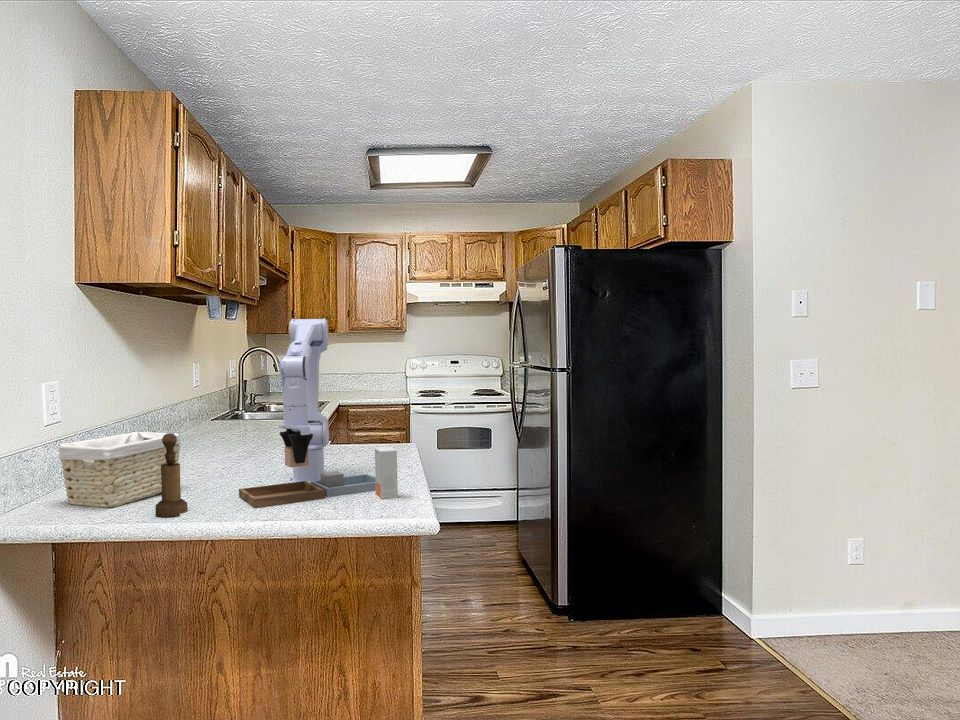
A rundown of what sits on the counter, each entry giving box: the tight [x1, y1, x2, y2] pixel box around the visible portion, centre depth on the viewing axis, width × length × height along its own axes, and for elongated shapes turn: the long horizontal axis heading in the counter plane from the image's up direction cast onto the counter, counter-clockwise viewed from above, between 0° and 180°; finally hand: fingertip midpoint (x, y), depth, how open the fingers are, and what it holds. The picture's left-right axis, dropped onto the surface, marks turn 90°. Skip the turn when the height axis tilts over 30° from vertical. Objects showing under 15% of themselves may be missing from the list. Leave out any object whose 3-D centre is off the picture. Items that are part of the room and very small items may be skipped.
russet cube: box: [284, 446, 309, 468], centre depth 176 cm, size 4×4×4 cm
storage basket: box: [58, 431, 181, 509], centre depth 180 cm, size 24×16×15 cm
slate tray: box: [309, 473, 376, 498], centre depth 183 cm, size 12×16×2 cm
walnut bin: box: [238, 481, 326, 509], centre depth 174 cm, size 14×17×2 cm
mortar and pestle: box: [154, 432, 189, 518], centre depth 162 cm, size 7×6×18 cm
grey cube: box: [320, 470, 345, 488], centre depth 181 cm, size 4×4×4 cm
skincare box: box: [374, 446, 399, 500], centre depth 175 cm, size 6×4×12 cm
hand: (296, 461), depth 176 cm, fingers closed on russet cube, 4 cm apart
